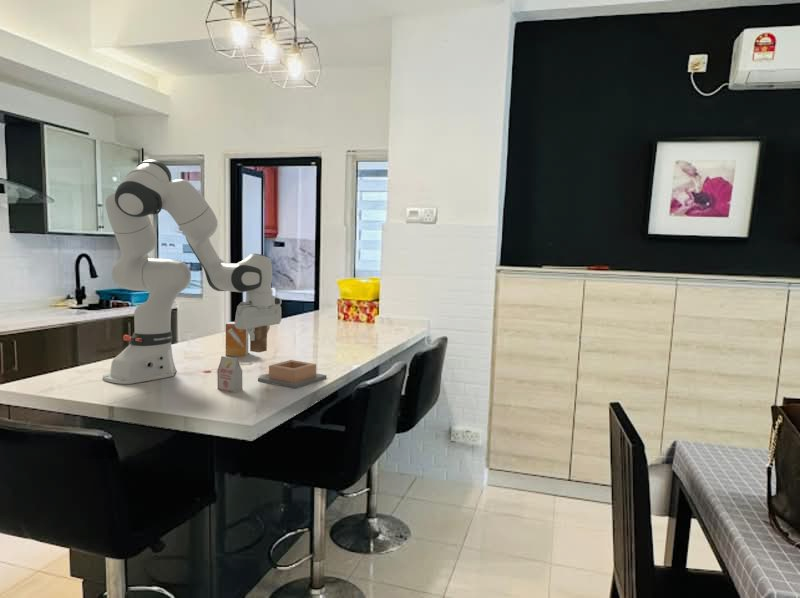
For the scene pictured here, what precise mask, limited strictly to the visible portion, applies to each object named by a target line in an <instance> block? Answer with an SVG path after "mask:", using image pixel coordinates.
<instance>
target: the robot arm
mask: <svg viewBox="0 0 800 598" xmlns="http://www.w3.org/2000/svg"><path fill="white" fill-rule="evenodd" d="M104 203H105V210H106V214H107V217H108V221H109V224H110V227H111V229H112V231H113V234H114V236H115V238H116V241H117V243H118V246H119V250H120V257H119V259H118V260H117V261H116V262H115V263H114V265H113V267H112V270H111V277H112V278H111V279H112V280H113V282H114V283H115V285H116V286H117V287H119V288H122V289H124V290H125V289H126V290H130V291H137V292H138V291H139V292H140V291H141V292H149V293H148V294H149V295H148V298H147V300H146V301H144V302H142V303H140V304H139V305H138V306H137V307H136V308H135V310H134V312H133V314H134V315H133V316H134V318H133V319H134V332H133V333H132V335H130V334H124V335H123V336H122V338H123V341H126V342H129V345H128V346H126V347H125V349H123V350H122V351H121V352H120V353H118V355H116V356H115V357H114V358H113V359H112V361H111V366H110V373H106V374H104V375H102V380H104V381H105V382H110V383H114V384H120V385H121V384H122V385H123V384H124V385H131V384H136V383H144V382H147V381H153V380H155V381H156V380H159V379H165V378H171V377H174V376H175V373H177V369H176V365H175V361H174V357H173V349H172V345H173V344H172V343H173V331H172V329H171V328H172V327H171V323H172V321H171V319H172V309H173V304H174V303H175V300H176V299H177V297H178V295H180V293H182V291H184V290H185V289H186V288H187V287H188V286H189V285H190V282H191V278H192V273H191V269H190V267H189V266H188V265H187V263H185V262H184V261H181V260H177V259H172V258H153V257H150V255H149V254H150V253H151V252H152V251H153V250H154V249H156V246H157V243H158V237H157V235H156V231H155V230H154V227H153V224H152V221H151V219H150V216H149V215H157V214H160V213H161V211H162V210H164V211H166V212H167V213H168V214H169V215H170V216H171V217H172V219H173V221H174V222H175V223H176V224H177V226H178V227H179V229H180V230H181V231H182V234H184V236H185V239H186V242H187V244H188V246H189V247H190V249H191V251H192V252H193V254H194V256H195V257H196V260H198V262H199V264H200V265H201V267H202V269H203V271H204V274H205V277H206V278H205V279H206V281H207V283H208V285H209V287H211V289H213V290H214V291H217V292H232V293H233V292H235V293H245V301H241V302H240V303H239V304H238V305H237V306H236V312H235V319H234V322H235V327H236V329H242V330H244V329H247V331H248V336H249V341H250V340H251V341H254V340H257V335H255V334H254V331H255V328H257V327H261V326H267V334H268V333H269V330H270V327H271V326H274V325H280V323H281V322H282V306H281V305H282V303H283V302H282V299H281V298H280V297H277V296H275V295H273V289H272V282H273V265H272V263H273V262H272V260H271V258H270V257H269V256H268V255H264V254H260V253H250V254H248V256H246V258H244V259H243V260H241V261H238V262H237V263H235V262H234V263H233V262H231V263H230V262H226V261H225V260H222V259H221V258H220V256H219V255H218V253H217V251H216V250H215V247H214V246H213V245H212V243H211V241H210V239H211V237H212V236H213V235H214V233H215V232H216V231H217V229H218V228H217V227H218V219H217V216H216V214H215V211H214V210H213V209H212V207H211V206H210V205H209V203H208V202H207V200H206V199H205V198H204V196H202V194H201V193H200V192H199V191H198V189H197V188H196V187H195V186H193V184H192V183H191V182H189V180H187V179H181V178H179V179H173V180H172V172H171V171H170V169H169V167H168V166H167V165H166V164H164V163H163V162H162V161H159V160H157V159H146V160H143V161H141V162H139V163H138V164H137V165H136V167H134V168H133V169H132V170H131V171H129V173H127V174H126V176H125V178H124V179H123V180H122V182H121V183H120V184H119V185H118V186H117V188H116V190H115V191H113V192H111V193H110V194H109V195H108V196H107V197H106V199H105V202H104Z"/></svg>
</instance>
